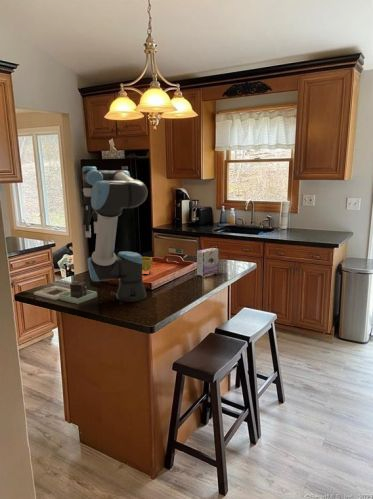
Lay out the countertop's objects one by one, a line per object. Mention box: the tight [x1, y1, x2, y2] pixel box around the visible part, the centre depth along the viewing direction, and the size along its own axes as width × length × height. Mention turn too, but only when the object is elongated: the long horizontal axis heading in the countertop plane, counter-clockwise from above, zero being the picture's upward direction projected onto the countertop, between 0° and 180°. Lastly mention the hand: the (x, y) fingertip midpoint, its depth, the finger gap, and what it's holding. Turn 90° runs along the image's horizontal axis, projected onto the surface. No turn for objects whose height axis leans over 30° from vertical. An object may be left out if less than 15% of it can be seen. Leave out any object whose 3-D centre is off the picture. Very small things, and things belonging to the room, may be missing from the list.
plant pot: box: [142, 256, 153, 270], centre depth 236 cm, size 10×10×10 cm
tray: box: [58, 289, 98, 305], centre depth 190 cm, size 13×13×2 cm
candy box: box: [196, 247, 220, 276], centre depth 231 cm, size 14×6×16 cm, turn 133°
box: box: [69, 280, 87, 299], centre depth 190 cm, size 6×6×7 cm
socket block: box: [33, 285, 71, 300], centre depth 197 cm, size 16×14×2 cm
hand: (92, 235), depth 205 cm, fingers open, 13 cm apart
